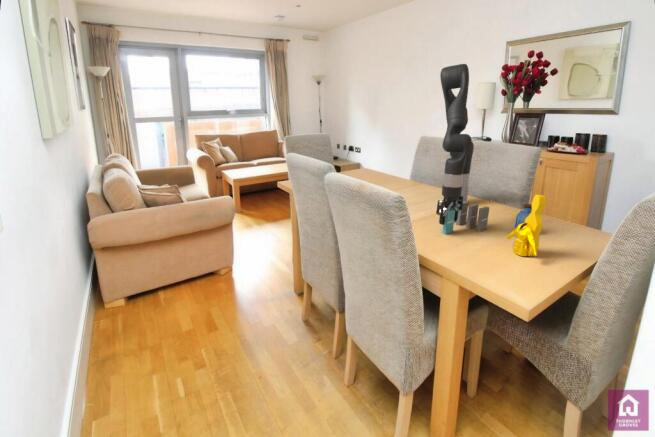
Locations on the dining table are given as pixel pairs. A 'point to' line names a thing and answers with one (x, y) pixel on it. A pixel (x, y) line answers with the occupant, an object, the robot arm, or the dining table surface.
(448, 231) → the end tile
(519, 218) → the perfume bottle
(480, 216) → the tile
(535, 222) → the figure statuette
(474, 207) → the tile
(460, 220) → the tile
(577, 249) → the dining table surface
